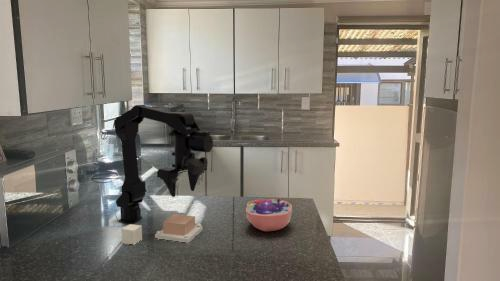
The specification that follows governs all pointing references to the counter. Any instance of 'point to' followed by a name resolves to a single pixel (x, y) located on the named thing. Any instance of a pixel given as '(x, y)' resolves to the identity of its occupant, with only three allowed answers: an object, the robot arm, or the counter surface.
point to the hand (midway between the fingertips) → (183, 193)
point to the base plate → (180, 238)
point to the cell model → (269, 214)
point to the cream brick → (131, 234)
